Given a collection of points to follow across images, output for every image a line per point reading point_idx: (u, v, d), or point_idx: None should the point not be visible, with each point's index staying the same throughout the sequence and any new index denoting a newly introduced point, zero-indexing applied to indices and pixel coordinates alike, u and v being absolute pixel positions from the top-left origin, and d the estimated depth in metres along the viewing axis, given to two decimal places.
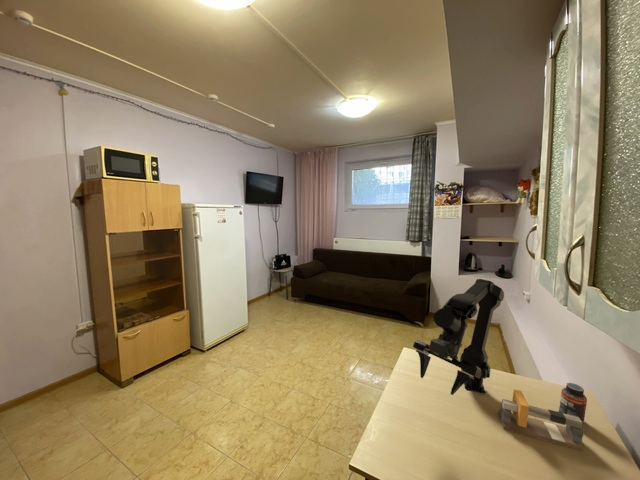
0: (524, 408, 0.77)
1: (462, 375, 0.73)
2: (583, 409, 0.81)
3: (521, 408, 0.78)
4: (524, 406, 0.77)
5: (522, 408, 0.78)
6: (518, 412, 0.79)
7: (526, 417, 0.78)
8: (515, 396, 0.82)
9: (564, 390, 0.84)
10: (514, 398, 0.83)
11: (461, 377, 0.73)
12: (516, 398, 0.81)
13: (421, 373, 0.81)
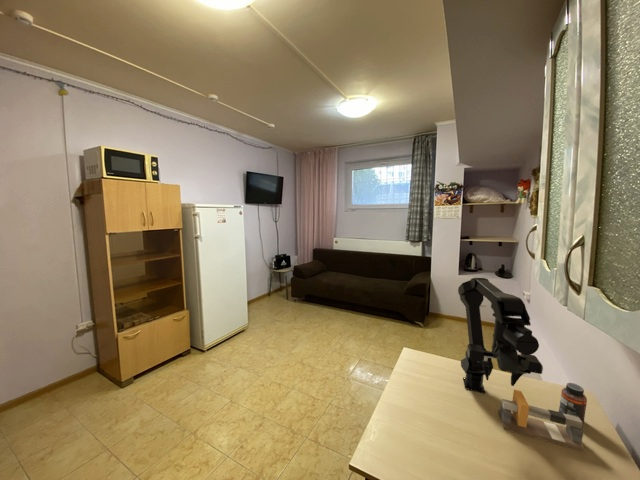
0: (524, 408, 0.77)
1: (524, 373, 0.77)
2: (583, 409, 0.81)
3: (521, 408, 0.78)
4: (524, 406, 0.77)
5: (522, 408, 0.78)
6: (518, 412, 0.79)
7: (526, 417, 0.78)
8: (515, 396, 0.82)
9: (564, 390, 0.84)
10: (514, 398, 0.83)
11: (522, 373, 0.78)
12: (516, 398, 0.81)
13: (487, 377, 0.83)
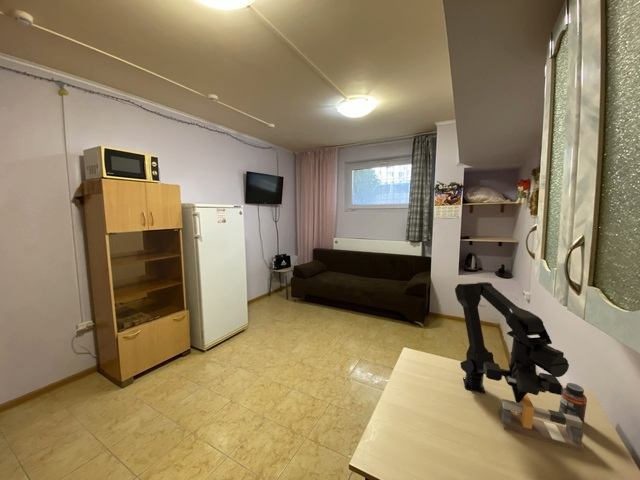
0: (529, 409, 0.77)
1: None
2: (583, 409, 0.81)
3: (526, 409, 0.77)
4: (529, 407, 0.77)
5: (527, 409, 0.77)
6: (523, 413, 0.79)
7: (531, 418, 0.77)
8: None
9: (564, 390, 0.84)
10: None
11: None
12: None
13: (517, 399, 0.80)
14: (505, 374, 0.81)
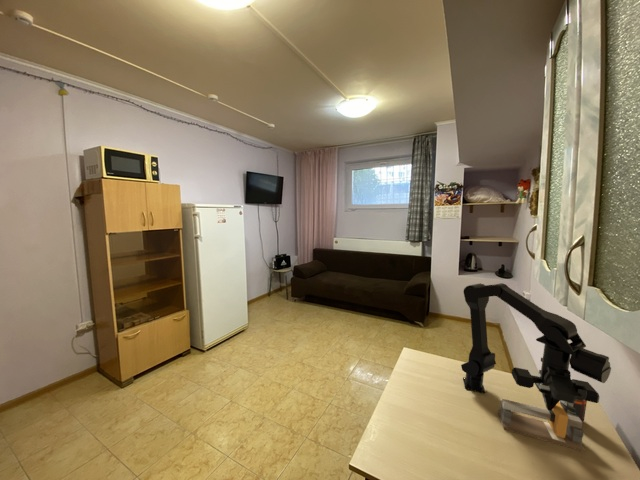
0: (563, 418, 0.74)
1: None
2: (583, 409, 0.81)
3: (559, 418, 0.74)
4: (563, 416, 0.74)
5: (561, 418, 0.74)
6: (556, 422, 0.76)
7: (565, 427, 0.74)
8: None
9: None
10: None
11: None
12: None
13: (548, 407, 0.77)
14: (536, 381, 0.78)
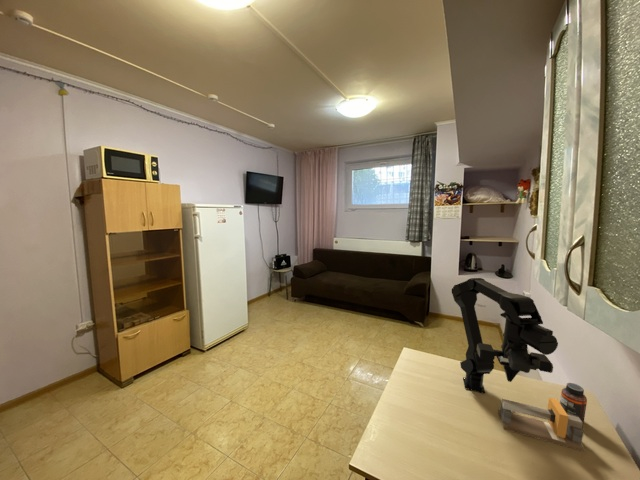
0: (563, 418, 0.74)
1: None
2: (583, 409, 0.81)
3: (560, 418, 0.74)
4: (563, 416, 0.74)
5: (561, 418, 0.74)
6: (556, 422, 0.76)
7: (565, 427, 0.74)
8: (551, 404, 0.79)
9: (564, 390, 0.84)
10: (550, 407, 0.80)
11: None
12: (553, 407, 0.78)
13: (508, 378, 0.83)
14: (498, 354, 0.83)
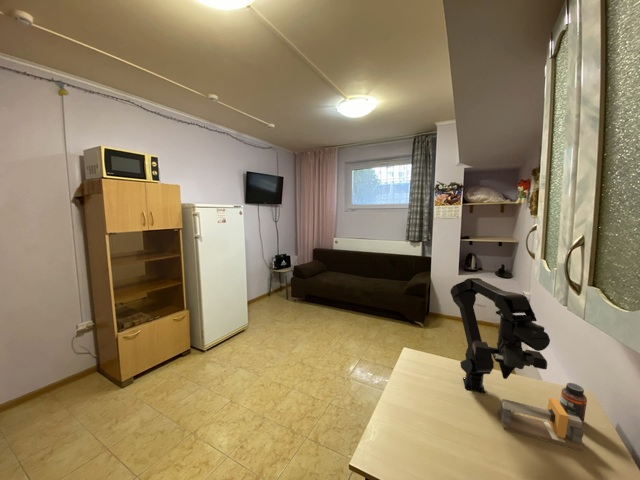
0: (563, 418, 0.74)
1: None
2: (583, 409, 0.81)
3: (560, 418, 0.74)
4: (563, 416, 0.74)
5: (561, 418, 0.74)
6: (556, 422, 0.76)
7: (565, 427, 0.74)
8: (551, 404, 0.79)
9: (564, 390, 0.84)
10: (550, 407, 0.80)
11: (514, 367, 0.81)
12: (553, 407, 0.78)
13: (504, 375, 0.84)
14: (493, 352, 0.84)
